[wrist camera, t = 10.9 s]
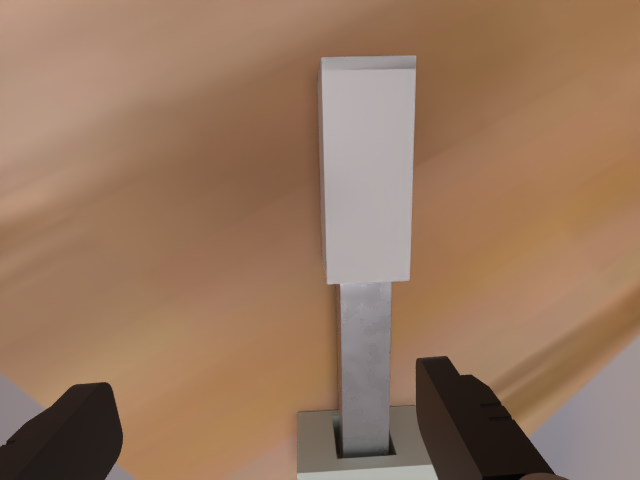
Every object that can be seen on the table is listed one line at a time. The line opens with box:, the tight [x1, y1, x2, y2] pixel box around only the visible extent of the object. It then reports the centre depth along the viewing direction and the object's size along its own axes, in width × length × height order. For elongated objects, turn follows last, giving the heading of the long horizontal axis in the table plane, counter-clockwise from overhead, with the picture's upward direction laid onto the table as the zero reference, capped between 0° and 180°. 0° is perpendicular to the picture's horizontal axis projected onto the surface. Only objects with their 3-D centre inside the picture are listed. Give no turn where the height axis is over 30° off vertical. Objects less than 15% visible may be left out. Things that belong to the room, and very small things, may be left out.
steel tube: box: [336, 282, 391, 459], centre depth 32 cm, size 4×26×4 cm, turn 2°
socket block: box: [297, 405, 438, 480], centre depth 34 cm, size 12×6×7 cm, turn 92°
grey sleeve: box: [317, 55, 416, 284], centre depth 28 cm, size 6×16×7 cm, turn 2°
